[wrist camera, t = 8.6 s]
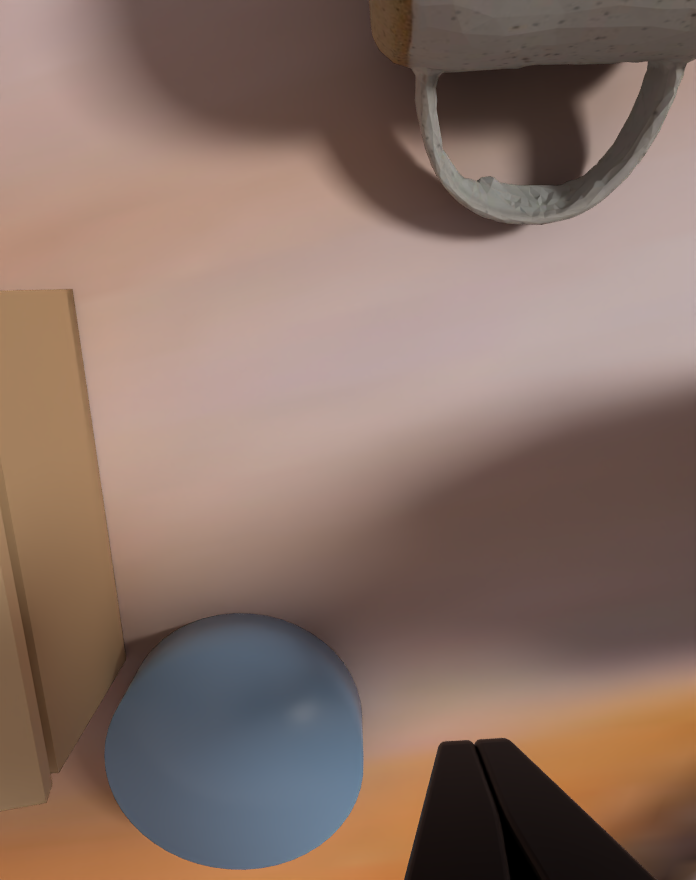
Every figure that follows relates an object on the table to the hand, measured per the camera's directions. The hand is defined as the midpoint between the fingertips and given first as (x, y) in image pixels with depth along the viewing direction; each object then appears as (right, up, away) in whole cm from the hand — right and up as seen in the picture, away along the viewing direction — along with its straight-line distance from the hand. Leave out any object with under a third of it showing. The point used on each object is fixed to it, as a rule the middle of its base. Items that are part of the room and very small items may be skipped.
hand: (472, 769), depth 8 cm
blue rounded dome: (-5, -5, +14) cm, 16 cm away
